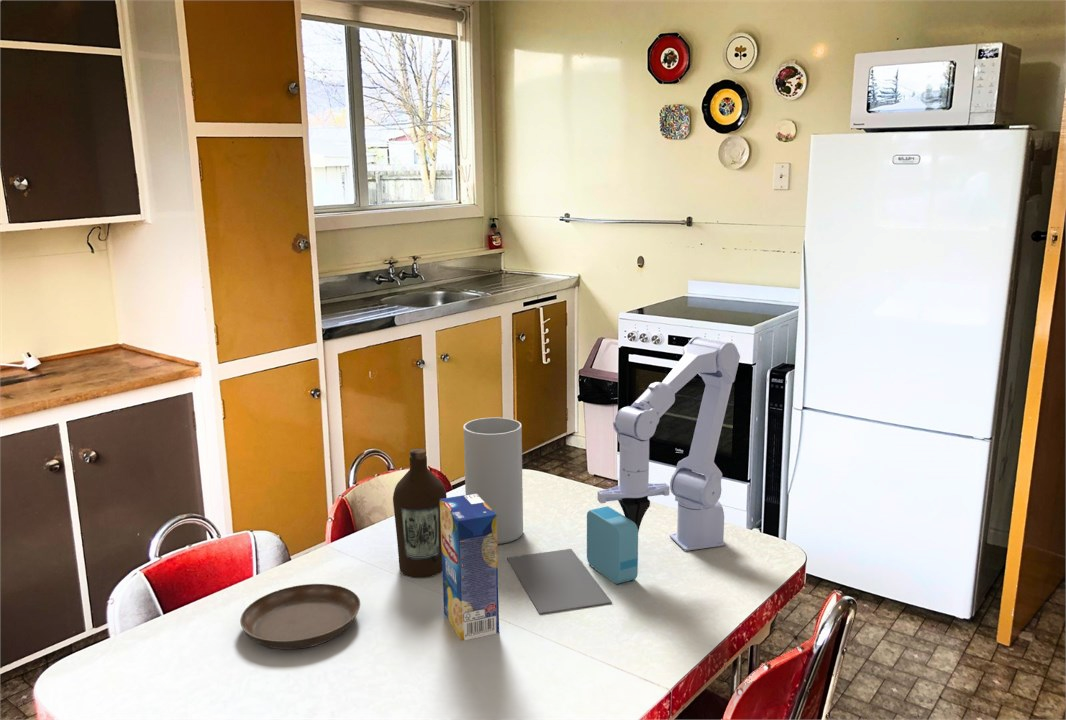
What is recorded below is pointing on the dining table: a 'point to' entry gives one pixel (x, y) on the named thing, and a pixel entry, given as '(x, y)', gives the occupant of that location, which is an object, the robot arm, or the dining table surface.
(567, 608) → the mat
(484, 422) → the cylinder vase
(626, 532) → the data package
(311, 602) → the plant saucer
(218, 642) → the dining table surface
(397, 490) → the olive oil
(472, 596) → the beverage box
